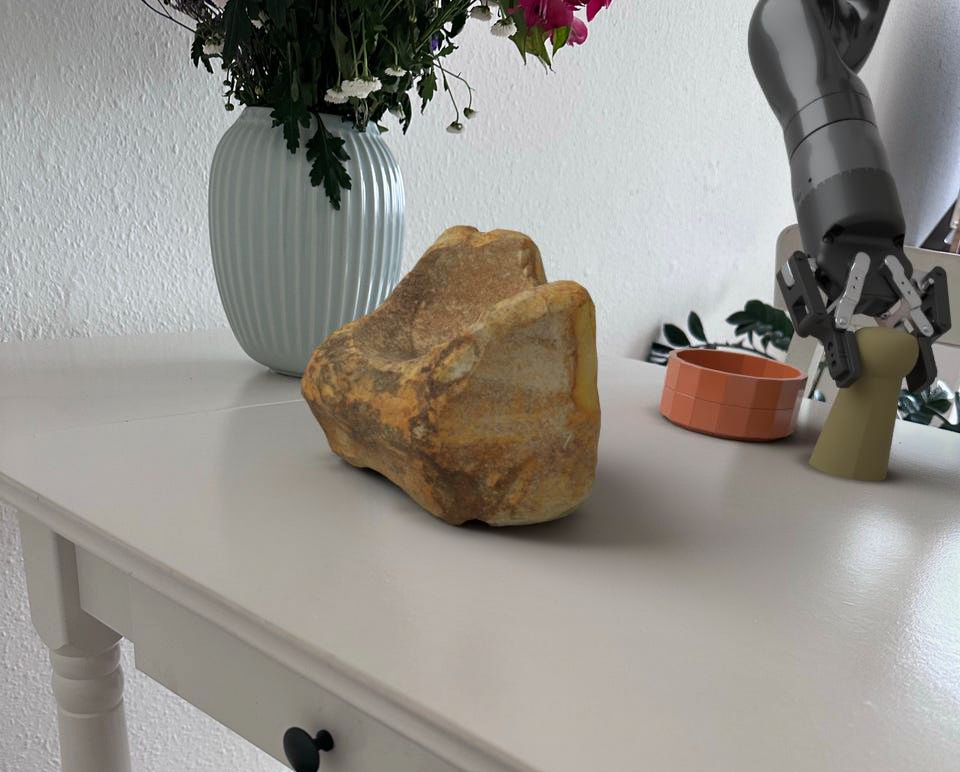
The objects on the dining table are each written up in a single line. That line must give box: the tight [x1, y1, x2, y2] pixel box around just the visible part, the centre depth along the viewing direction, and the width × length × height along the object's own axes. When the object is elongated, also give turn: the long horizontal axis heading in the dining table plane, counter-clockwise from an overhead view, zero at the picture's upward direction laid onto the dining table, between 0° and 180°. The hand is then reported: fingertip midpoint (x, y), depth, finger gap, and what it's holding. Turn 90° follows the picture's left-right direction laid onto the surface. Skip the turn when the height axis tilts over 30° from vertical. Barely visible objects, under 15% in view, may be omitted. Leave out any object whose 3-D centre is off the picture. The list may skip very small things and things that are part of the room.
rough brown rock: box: [300, 224, 602, 527], centre depth 60 cm, size 23×17×15 cm
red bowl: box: [658, 347, 809, 442], centre depth 85 cm, size 12×12×6 cm
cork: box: [808, 325, 919, 482], centre depth 74 cm, size 6×6×11 cm
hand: (886, 384), depth 72 cm, fingers open, 5 cm apart
